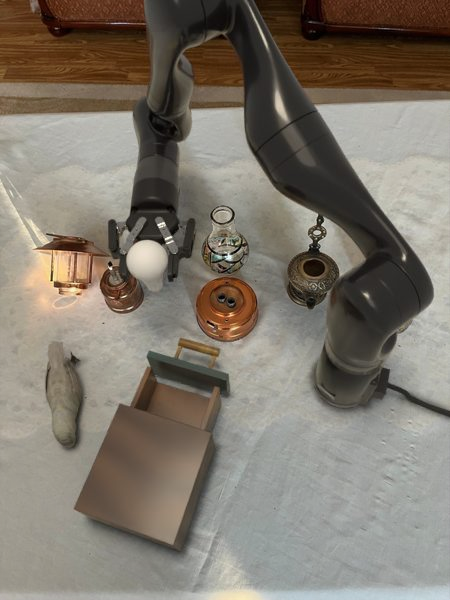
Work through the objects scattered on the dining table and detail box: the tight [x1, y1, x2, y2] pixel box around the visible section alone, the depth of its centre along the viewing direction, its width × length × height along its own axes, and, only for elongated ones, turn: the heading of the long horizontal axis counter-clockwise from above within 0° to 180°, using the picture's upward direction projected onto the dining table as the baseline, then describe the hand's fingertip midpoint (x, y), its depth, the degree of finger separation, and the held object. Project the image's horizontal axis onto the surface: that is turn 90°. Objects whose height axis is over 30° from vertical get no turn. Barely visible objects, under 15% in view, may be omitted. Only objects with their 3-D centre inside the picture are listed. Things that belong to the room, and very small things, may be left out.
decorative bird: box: [44, 340, 82, 448], centre depth 85 cm, size 5×16×7 cm, turn 11°
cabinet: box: [73, 403, 216, 552], centre depth 77 cm, size 16×15×10 cm
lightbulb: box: [126, 240, 168, 293], centre depth 80 cm, size 6×6×11 cm
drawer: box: [129, 337, 231, 433], centre depth 83 cm, size 19×13×8 cm
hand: (147, 279), depth 78 cm, fingers closed on lightbulb, 6 cm apart
